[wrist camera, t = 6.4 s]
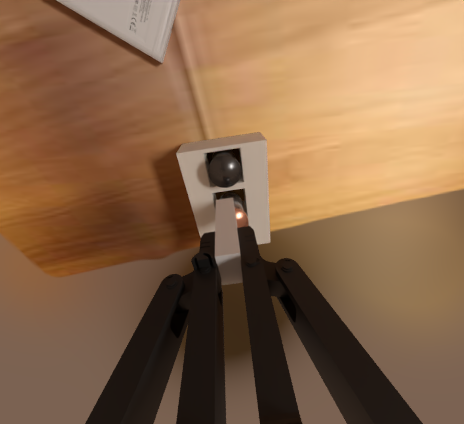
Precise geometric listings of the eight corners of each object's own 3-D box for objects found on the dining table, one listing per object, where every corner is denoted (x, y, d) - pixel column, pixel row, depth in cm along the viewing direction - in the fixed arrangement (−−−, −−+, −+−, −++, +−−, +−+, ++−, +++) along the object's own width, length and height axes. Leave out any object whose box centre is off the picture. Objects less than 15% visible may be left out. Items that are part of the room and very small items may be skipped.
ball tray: (264, 225, 40) (270, 242, 36) (206, 234, 40) (204, 251, 36) (259, 131, 30) (266, 139, 26) (182, 143, 30) (176, 153, 26)
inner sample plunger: (212, 174, 32) (211, 189, 27) (207, 146, 30) (205, 159, 25) (239, 170, 32) (243, 185, 27) (236, 142, 30) (239, 153, 25)
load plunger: (218, 215, 33) (218, 238, 28) (214, 192, 30) (213, 212, 25) (245, 211, 33) (249, 234, 28) (242, 187, 30) (246, 207, 25)
